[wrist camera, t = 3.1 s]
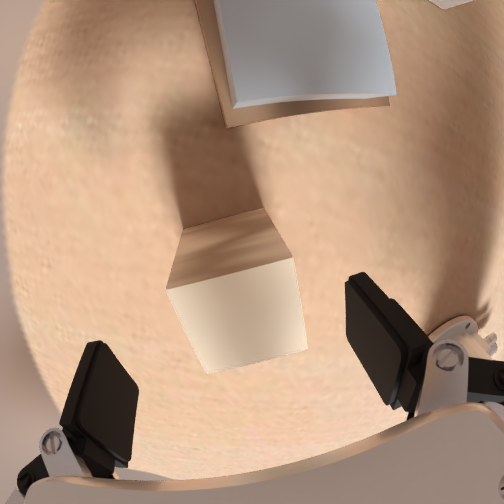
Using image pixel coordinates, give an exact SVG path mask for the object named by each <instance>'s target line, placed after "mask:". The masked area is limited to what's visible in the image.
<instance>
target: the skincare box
mask: <svg viewBox="0 0 504 504" xmlns="http://www.w3.org/2000/svg"><path fill="white" fill-rule="evenodd" d="M429 1H430V2H432V3H433V4H435V5H436V6H438V7H439V8H441V9H444V10H445V9H449V8H452V7H455V6H458V5H461V4H464V3H467V2H471V1H474V0H429Z"/></svg>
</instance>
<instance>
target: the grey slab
mask: <svg viewBox="0 0 504 504" xmlns="http://www.w3.org/2000/svg"><path fill="white" fill-rule="evenodd" d="M213 1H214V7H215V12H216V18H217V23H218V29H219V35H220V40H221V46H222V51H223V57H224V62H225V68H226V74H227V79H228V85H229V91H230V96H231V102H232V108H233V109H234V108H241V107H247V106H254V105H262V104H270V103H280V102H290V101H303V100H320V99H367V98H375V97H383V96H392V95H397V92H396V86H395V79H394V73H393V68H392V63H391V58H390V53H389V48H388V44H387V39H386V35H385V31H384V27H383V24H382V20H381V16H380V13H379V10H378V6H377V3H376V0H213Z"/></svg>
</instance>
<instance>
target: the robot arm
mask: <svg viewBox="0 0 504 504" xmlns="http://www.w3.org/2000/svg"><path fill="white" fill-rule="evenodd" d="M345 301H346V336H347V339H348V342H349V343H350V345H351V347H352V348H353V350H354V352H355V353H356V355H357V357H358V358H359V360H360V362H361V364H362V365H363V367H364V369H365V370H366V372H367V374H368V376H369V377H370V379H371V381H372V383H373V384H374V386H375V388H376V390H377V391H378V393H379V395H380V397H381V398H382V400H383V402H384V403H385V404H386V405H389V404H390V405H391V407H392V409H393V410H395V409H397V408H399V407H401V406H402V407H403V409H404V410H405V411H406V412H407V414H406V418H405V422H402V423H400V424H398V425H396V426H393V427H391V428H389V429H387V430H384V431H382V432H380V433H378V434H375V435H373V436H371V437H368V438H366V439H363V440H361V441H358V442H355V443H353V444H350V445H347V446H345V447H342V448H339V449H336V450H333V451H330V452H328V453H324V454H321V455H318V456H315V457H312V458H308V459H305V460H301V461H298V462H294V463H290V464H286V465H282V466H278V467H273V468H269V469H264V470H259V471H254V472H249V473H243V474H237V475H230V476H222V477H214V478H204V479H192V480H172V481H137V480H121V479H120V478H119V477H118V475H117V474H116V472H115V471H114V467H115V466H116V467H121V468H128V461H130V460H131V455H132V444H133V434H134V425H135V417H136V409H137V402H138V395H139V389H138V386H137V384H136V383H135V382H134V380H133V379H132V378H131V377H130V375H129V374H128V373H127V371H126V370H125V369H124V367H123V366H122V365H121V363H120V362H119V361H118V359H117V358H116V356H115V355H114V354H113V352H112V351H111V349H110V348H109V346H108V345H107V344H106V343H103V342H102V341H100V340H99V341H93V342H89V343H87V345H86V347H85V350H84V352H83V355H82V357H81V360H80V362H79V365H78V368H77V370H76V373H75V376H74V379H73V382H72V384H71V387H70V390H69V393H68V396H67V399H66V403H65V406H64V409H63V412H62V416H61V419H60V423H59V424H60V425H61V426H62V427H63V429H62V430H60V429H59V428H51V429H49V430H47V431H46V432H45V433H44V434H43V436H42V438H41V440H40V444H39V448H40V452H41V454H40V455H39V456H38V457H36V458H35V459H34V460H33V461H32V462H30V463H29V464H28V465H27V466H25V467H24V468H23V469H22V470H21V471H20V473H19V475H18V478H17V485H18V488H15V490H14V491H13V493H12V494H11V496H10V497H9V499H8V500H7V502H6V504H504V361H496V360H493V359H492V358H491V357H490V356H492V355H493V354H494V353H496V351H497V344H496V341H497V336H496V334H495V333H491V334H490V335H488V336H487V337H486V338H485V339H482V338H481V337H480V335H479V334H478V325H477V323H476V322H475V321H474V320H473V319H472V318H471V317H470V316H459V317H456V318H453V319H452V320H450V321H448V322H446V323H445V324H443V325H442V326H440V327H439V328H437V329H436V330H435V331H434V332H433V333H431V334H430V335H429V336H427V335H426V334H425V333H424V332H423V331H422V329H421V328H420V327H419V326H418V325H417V324H416V323H415V321H414V320H413V319H412V318H411V317H410V316H409V315H408V314H407V312H406V311H405V310H404V309H403V308H402V307H401V306H400V305H399V304H398V303H397V302H396V301H395V300H394V299H392V298H390V299H389V298H388V296H387V295H386V294H385V293H384V292H383V291H382V290H381V289H380V288H379V287H378V286H377V285H376V284H375V282H374V281H373V280H372V279H371V278H370V277H369V276H368V275H367V274H366V273H365V272H361V273H358V274H355V275H352V276H350V277H349V281H346V282H345Z"/></svg>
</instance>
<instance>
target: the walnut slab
mask: <svg viewBox="0 0 504 504" xmlns="http://www.w3.org/2000/svg"><path fill="white" fill-rule="evenodd" d="M194 1H195V5H196V9H197V13H198V17H199V21H200V25H201V29H202V33H203V37H204V41H205V45H206V49H207V53H208V58H209V62H210V66H211V70H212V74H213V78H214V82H215V86H216V90H217V94H218V98H219V102H220V106H221V110H222V114H223V118H224V122H225V127H226V129H228V128H232V127H237V126H241V125H246V124H250V123H255V122H260V121H265V120H270V119H276V118H282V117H287V116H294V115H300V114H307V113H314V112H322V111H331V110H340V109H351V108H363V107H377V106H390V104H389V99H388V96H383V97H375V98H367V99H320V100H303V101H290V102H280V103H270V104H262V105H254V106H247V107H241V108H234V109H233V108H232V102H231V96H230V91H229V85H228V79H227V74H226V68H225V62H224V57H223V51H222V46H221V40H220V35H219V29H218V23H217V18H216V12H215V7H214V1H213V0H194Z"/></svg>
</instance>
